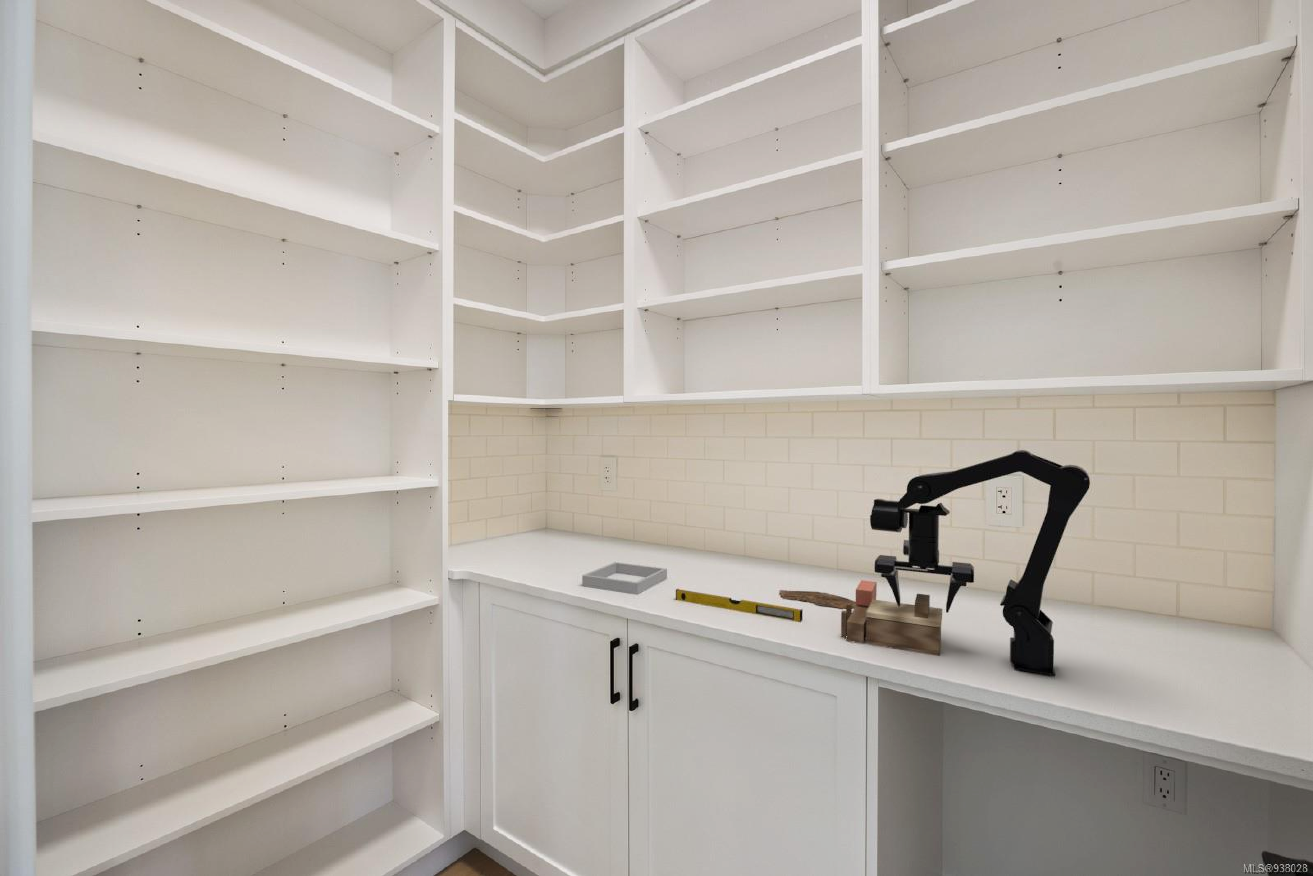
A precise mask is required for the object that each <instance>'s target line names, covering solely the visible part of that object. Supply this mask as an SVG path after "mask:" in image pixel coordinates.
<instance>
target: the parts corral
mask: <svg viewBox="0 0 1313 876" xmlns="http://www.w3.org/2000/svg"><path fill="white" fill-rule="evenodd" d="M614 574H623V575H631V576H638V577H642V579H639V580H638V581H632V580H624V579H618V578H611V577H610V576H612V575H614ZM643 577H644V578H643ZM581 580H582V581H581V582H582V583H581V585H582V587H588V588H594V589H598V590H600V589H601V590H607V591H613V592H619V593H620V592H621V593H626V594H633V595H639V594H641V593H643V592H645V591H647V590H648V589H650V588H652V587H654V586H656V585H658V584H660V583H662V582H664V581H665V580H668V568H664V567H656V566H648V565H640V564H634V563H626V562H625V563H624V562H616V561H615V562H612V563H610V564H608V565H604V566H602V567H600V568H597V569H595V570H592V571H590V572H587V573H585V574H582V575H581Z"/></svg>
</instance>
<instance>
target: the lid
mask: <svg viewBox="0 0 1313 876" xmlns="http://www.w3.org/2000/svg"><path fill="white" fill-rule="evenodd" d="M930 598H931V597H930V594H924V593H916V596H915V601H914V604H910V603H902V602H900V606H898V605H897V602H896V601H886V600H878V599H876V600H872V602H871V604H870V606H869V608H868V610H867V612H866V617H871V618H878V619H885V620H891V621H898V622H905V623H912V624H919V625H926V626H933V627H940V628H941V629H942V620H943V608H941V607H939V608H938V607H933V606H930V604H931V603H930V600H931V599H930Z"/></svg>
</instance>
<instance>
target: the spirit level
mask: <svg viewBox="0 0 1313 876" xmlns="http://www.w3.org/2000/svg"><path fill="white" fill-rule="evenodd" d="M675 601H681V602H687V603H693V604H697V605H698V604H699V605H704V606H710V607H714V608H720V609H725V610H730V611H731V610H732V611H736V612H737V611H738V612H743V613H748V614H753V615H758V616H759V615H760V616H764V617H771V618H776V619H782V620H788V621H794V622H799V623H801V622H803V608H801V609H799V608H795V607H789V606H788V607H787V606H781V605H776V604H775V605H774V604H769V603H764V602H757V601H750V600H747V599H745V600H744V599H741V600H736V599H732V597H727V596H721V595H715V594H711V593H710V594H709V593H705V592H697V591H691V590H686V589H679V588H677V589H676V588H675Z"/></svg>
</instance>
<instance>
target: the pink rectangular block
mask: <svg viewBox="0 0 1313 876" xmlns="http://www.w3.org/2000/svg"><path fill="white" fill-rule="evenodd" d="M877 585H878V583H877V581H871V580H860V582H859V583H858V585H857V587H856V589H855V602H856V605H863V606H870V604H871V602H872V600H875V598H876V599H877V592H878V591H877V589H878V588H877V587H878V586H877Z"/></svg>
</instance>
